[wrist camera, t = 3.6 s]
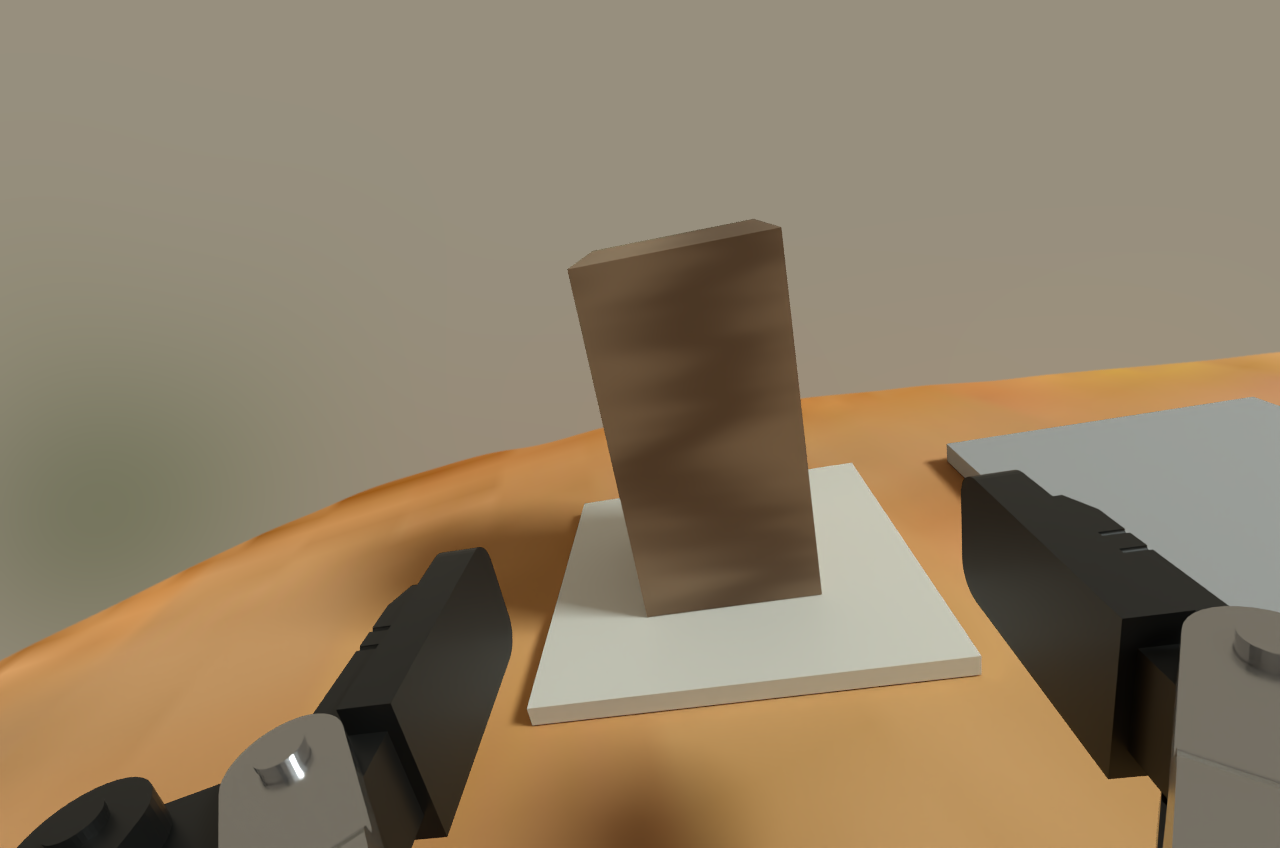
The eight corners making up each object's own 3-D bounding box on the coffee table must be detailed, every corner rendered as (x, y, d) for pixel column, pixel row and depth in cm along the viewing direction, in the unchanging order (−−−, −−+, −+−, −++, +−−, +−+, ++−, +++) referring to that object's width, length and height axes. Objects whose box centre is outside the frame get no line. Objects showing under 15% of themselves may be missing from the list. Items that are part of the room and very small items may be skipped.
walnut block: (646, 617, 20) (567, 269, 16) (652, 529, 25) (592, 250, 21) (822, 594, 19) (781, 227, 15) (790, 508, 24) (753, 218, 20)
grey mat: (1148, 655, 15) (1151, 629, 15) (947, 460, 27) (946, 443, 26) (1712, 591, 14) (1726, 562, 14) (1250, 414, 25) (1252, 396, 25)
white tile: (532, 725, 17) (526, 708, 17) (587, 515, 28) (584, 503, 28) (981, 674, 16) (981, 655, 16) (852, 475, 27) (851, 462, 27)
